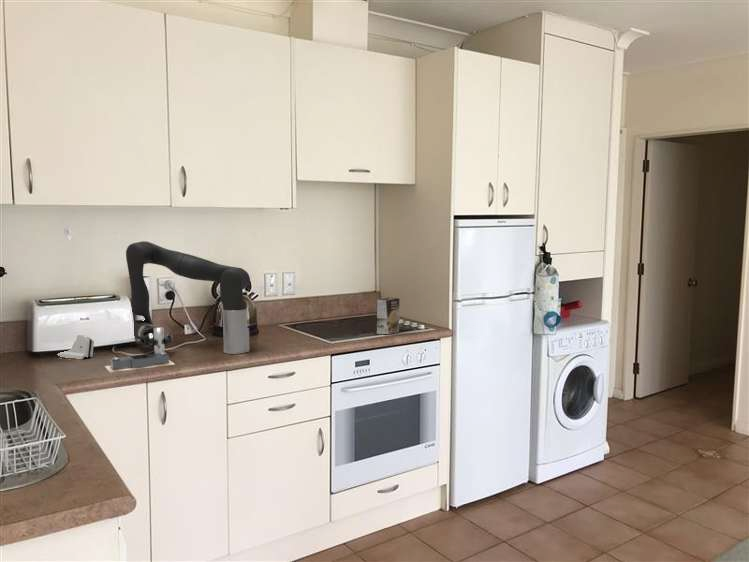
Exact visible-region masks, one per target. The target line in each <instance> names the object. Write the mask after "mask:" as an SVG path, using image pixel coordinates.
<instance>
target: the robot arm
mask: <svg viewBox="0 0 749 562" xmlns="http://www.w3.org/2000/svg"><path fill="white" fill-rule="evenodd" d="M125 258H126V264H127V271H128V278H129V283H130V284H129V285H130V294H131V298H130V307H132V312H133V314H132V315H134V316H139V317H140V316H141V317H143V319H136V320H134V336H135V338H134V339H136V344H139V345H144V346H148V347H154V346H156V340H155V339H154V328H155V327H156V326H155V325H154V324H153V320H152V316H151V313H150V312H151V311H150V293H149V288H148V286H147V284H146V281H145V277H144V266H145V264H146V265H147V264H150V265H151V264H152V265H158V266H162V267H165V268H167V269H168V270H169V271H171V272H172V273H173V274H175V275H177V276H180V277H183V278H186V279H190V280H196V281H203V282H204V281H207V282H214V283H219V291H220V292H219V295H220V296H219V297H220V302H221V304H222V323H223V324H222V325H223V326H222V327H223V329H222V330H223V352H224V353H225V354H228V355H229V354H230V355H232V354H233V355H236V354H239V355H240V354H245V353H247V352H250V328H249V327H248V305H247V304H248V303H247V301H246V300H245V299H244V298H243V297H244V296H243V294H244V293H243V290H245V289H246V288H248V286H249V285H250V284H251V276H250V275H249V273H248V272H247V270H245V269H243V268H242V267H238V266H237V267H236V266H230V265H224V264H220V263H216V262H215V261H214V262H213V261H211V260H208V259H205V258H203V257H199V256H197V255H193V254H189V253H184V252H180V251H177V250H173V249H172V250H171V249H168V248H165V247H163V246H160V245H157V244H155V243H152V242H150V241H137V242H133V243H130V244H129V245H128V246H127V248H126V251H125ZM132 312H131V313H132ZM144 318H145V320H144ZM142 320H144V321H142ZM172 341H173V333H172V332H169V333H167V335H166V334H165V333H164V346H167V345H169V344H170V343H172Z"/></svg>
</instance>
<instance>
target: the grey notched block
mask: <svg viewBox="0 0 749 562" xmlns="http://www.w3.org/2000/svg"><path fill="white" fill-rule="evenodd" d="M169 360H170V354H169V353H167V351H165V352H160V353H157V354H154V353H144V354H143V353H142V354H132V355H127V356H123V357H119V356H116V357H112V358H109V363H110V365H109V366H110V367H111V368H112V369H113V370H118V369H127V368H132V369H133V368H142V367H150V366H153V365H160V364H168V363H169ZM150 368H151V367H150ZM142 369H143V368H142Z"/></svg>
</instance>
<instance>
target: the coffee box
mask: <svg viewBox="0 0 749 562" xmlns="http://www.w3.org/2000/svg"><path fill="white" fill-rule="evenodd" d="M376 307H377V310H376V334H378V335H383V334H390V335H393V334H392V333H394V334H398V333H397V332H399V333H400V298H398V297H383V298H377V305H376Z"/></svg>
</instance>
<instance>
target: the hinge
mask: <svg viewBox="0 0 749 562" xmlns="http://www.w3.org/2000/svg"><path fill="white" fill-rule="evenodd" d="M83 335H84V334H81V335H78V336H77V339H76V341H75V342H74V344H73V346H72V348H71V349H70V350H68V351H64V352H60V353H58V354H57V355H58V356H60V357H65V358H76V359H83V360H84V358H85V357H87V358H86V359H89V358H88V357H91V356H92V357H93V354H94V346H95V341H94V339H93V338H91V337H89V336H87V337H85V336H86V335H84V336H83Z"/></svg>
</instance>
